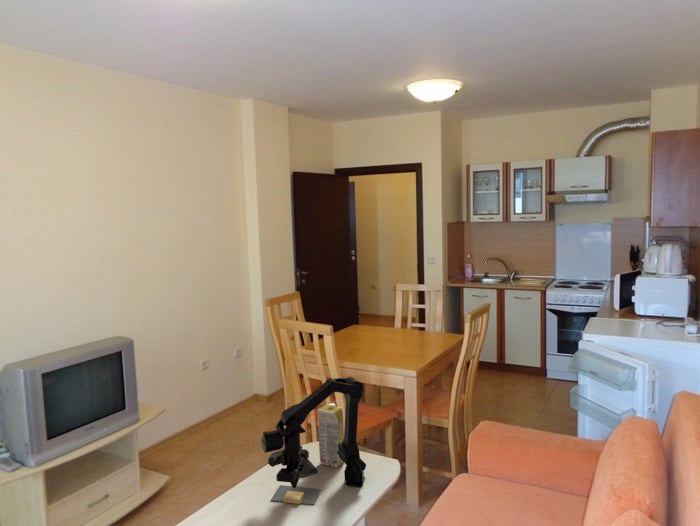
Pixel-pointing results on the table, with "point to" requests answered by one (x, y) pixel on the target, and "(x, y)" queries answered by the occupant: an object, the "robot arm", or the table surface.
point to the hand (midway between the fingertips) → (294, 487)
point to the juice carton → (330, 434)
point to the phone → (308, 468)
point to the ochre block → (293, 497)
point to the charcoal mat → (309, 493)
